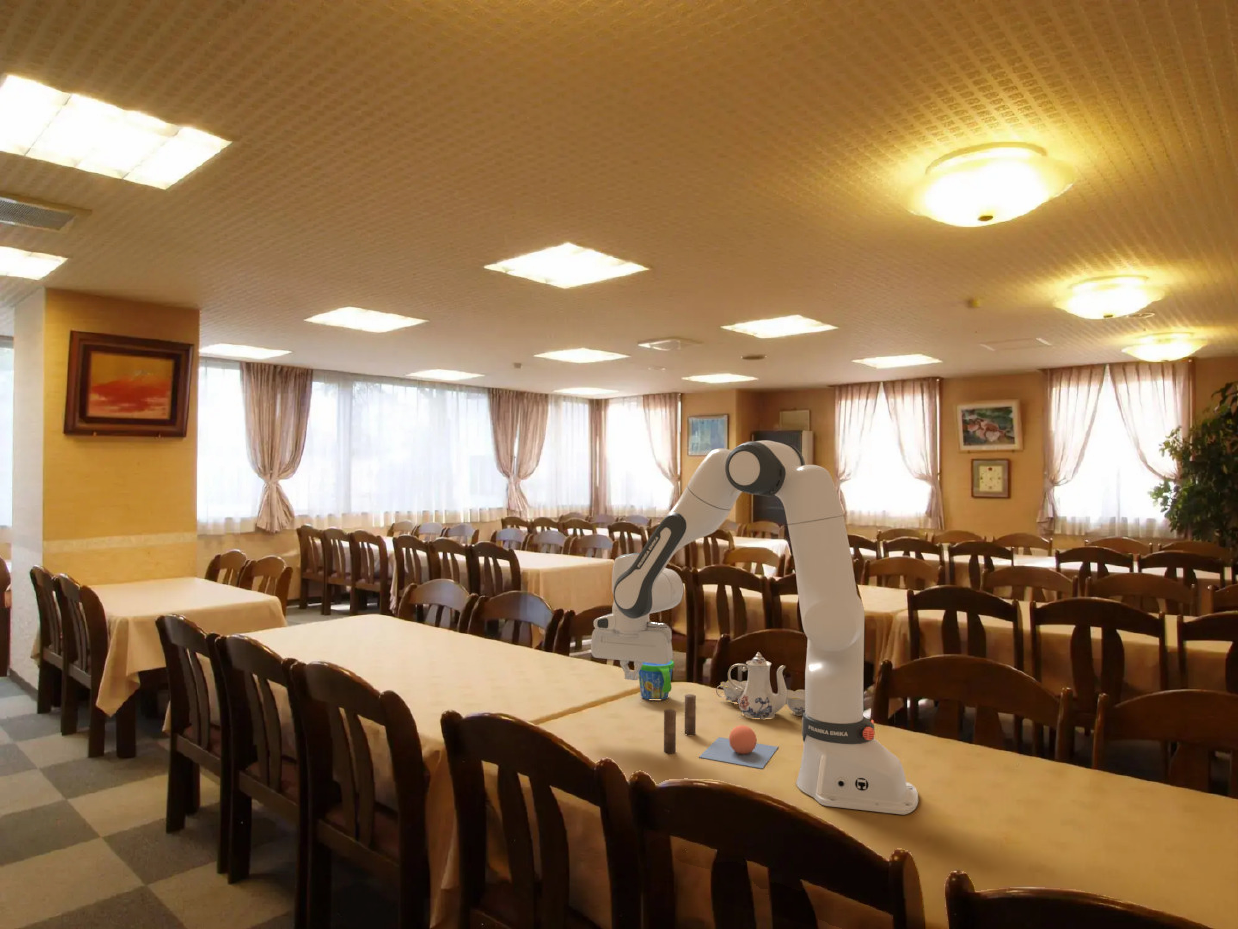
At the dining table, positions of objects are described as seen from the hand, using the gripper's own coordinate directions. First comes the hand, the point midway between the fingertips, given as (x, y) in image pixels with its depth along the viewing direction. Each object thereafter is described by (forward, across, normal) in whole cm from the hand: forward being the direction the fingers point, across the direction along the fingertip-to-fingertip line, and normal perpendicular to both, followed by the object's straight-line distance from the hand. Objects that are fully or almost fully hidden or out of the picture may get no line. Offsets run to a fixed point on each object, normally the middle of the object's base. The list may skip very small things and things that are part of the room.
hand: (631, 679), depth 175 cm
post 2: (+13, -12, -6) cm, 19 cm away
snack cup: (+13, +7, -30) cm, 33 cm away
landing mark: (+14, -26, 0) cm, 29 cm away
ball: (+10, -27, 0) cm, 29 cm away
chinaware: (+14, -23, -31) cm, 41 cm away
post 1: (+13, -12, +7) cm, 19 cm away
